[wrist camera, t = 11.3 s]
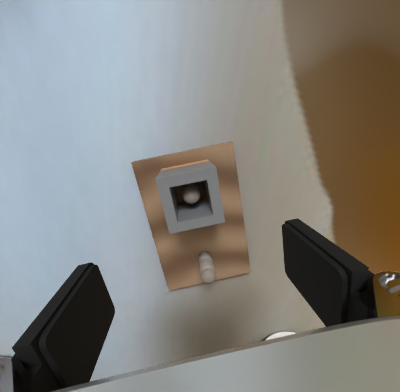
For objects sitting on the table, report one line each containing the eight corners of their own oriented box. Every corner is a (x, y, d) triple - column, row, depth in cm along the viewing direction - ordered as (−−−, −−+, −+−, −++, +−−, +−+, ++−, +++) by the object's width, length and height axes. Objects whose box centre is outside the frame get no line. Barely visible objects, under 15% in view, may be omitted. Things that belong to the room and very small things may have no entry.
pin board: (248, 267, 32) (263, 296, 26) (169, 285, 32) (166, 318, 26) (230, 141, 26) (244, 143, 20) (133, 161, 26) (119, 168, 20)
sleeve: (207, 159, 26) (216, 166, 19) (215, 202, 27) (225, 222, 21) (161, 168, 25) (155, 179, 19) (172, 211, 27) (169, 233, 21)
